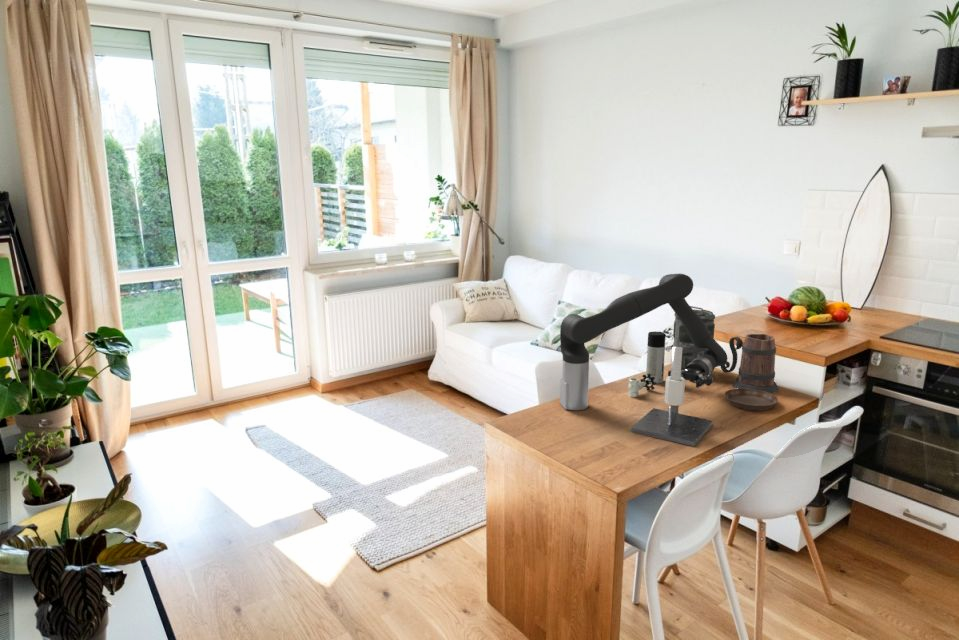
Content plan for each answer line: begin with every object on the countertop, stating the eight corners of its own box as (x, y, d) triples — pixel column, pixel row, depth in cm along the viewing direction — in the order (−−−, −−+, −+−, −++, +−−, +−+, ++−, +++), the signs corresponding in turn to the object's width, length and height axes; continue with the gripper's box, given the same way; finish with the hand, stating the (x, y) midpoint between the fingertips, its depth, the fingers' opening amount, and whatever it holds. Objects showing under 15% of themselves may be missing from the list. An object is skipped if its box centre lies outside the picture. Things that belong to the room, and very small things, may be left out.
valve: (637, 399, 224) (656, 392, 232) (638, 382, 223) (657, 375, 230) (622, 395, 229) (641, 387, 237) (623, 378, 227) (642, 371, 235)
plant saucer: (713, 399, 224) (713, 391, 223) (750, 392, 230) (751, 385, 229) (749, 416, 208) (750, 408, 207) (788, 408, 214) (789, 400, 213)
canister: (718, 372, 252) (723, 307, 246) (697, 381, 243) (702, 312, 236) (684, 364, 264) (689, 301, 258) (663, 371, 255) (667, 306, 248)
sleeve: (679, 406, 192) (681, 382, 191) (662, 403, 196) (664, 379, 194) (685, 401, 197) (686, 377, 195) (668, 398, 200) (669, 375, 198)
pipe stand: (694, 446, 185) (700, 360, 178) (631, 431, 196) (634, 349, 190) (712, 424, 200) (718, 344, 194) (653, 412, 212) (657, 335, 205)
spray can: (665, 384, 240) (668, 335, 235) (647, 384, 240) (650, 335, 235) (660, 378, 246) (663, 330, 242) (643, 378, 246) (646, 331, 242)
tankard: (788, 387, 234) (793, 337, 229) (763, 396, 225) (768, 344, 220) (733, 372, 253) (737, 325, 248) (708, 380, 244) (712, 332, 239)
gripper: (679, 356, 218) (663, 368, 206) (720, 362, 210) (706, 375, 197) (677, 376, 220) (662, 389, 207) (718, 383, 212) (705, 397, 199)
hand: (684, 382), depth 202 cm, fingers open, 8 cm apart
